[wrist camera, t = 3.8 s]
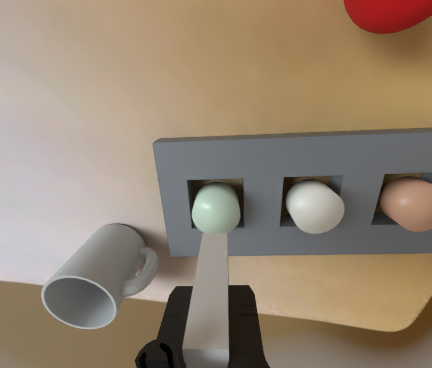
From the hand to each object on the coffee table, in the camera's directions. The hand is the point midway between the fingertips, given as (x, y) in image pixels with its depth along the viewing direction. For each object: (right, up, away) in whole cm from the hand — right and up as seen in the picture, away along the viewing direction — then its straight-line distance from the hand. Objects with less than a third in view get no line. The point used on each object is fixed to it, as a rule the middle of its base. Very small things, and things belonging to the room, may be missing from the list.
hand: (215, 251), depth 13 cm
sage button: (0, +2, +11) cm, 11 cm away
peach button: (+20, +3, +10) cm, 22 cm away
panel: (+10, +3, +12) cm, 16 cm away
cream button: (+10, +2, +10) cm, 15 cm away
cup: (-12, -4, +16) cm, 20 cm away
